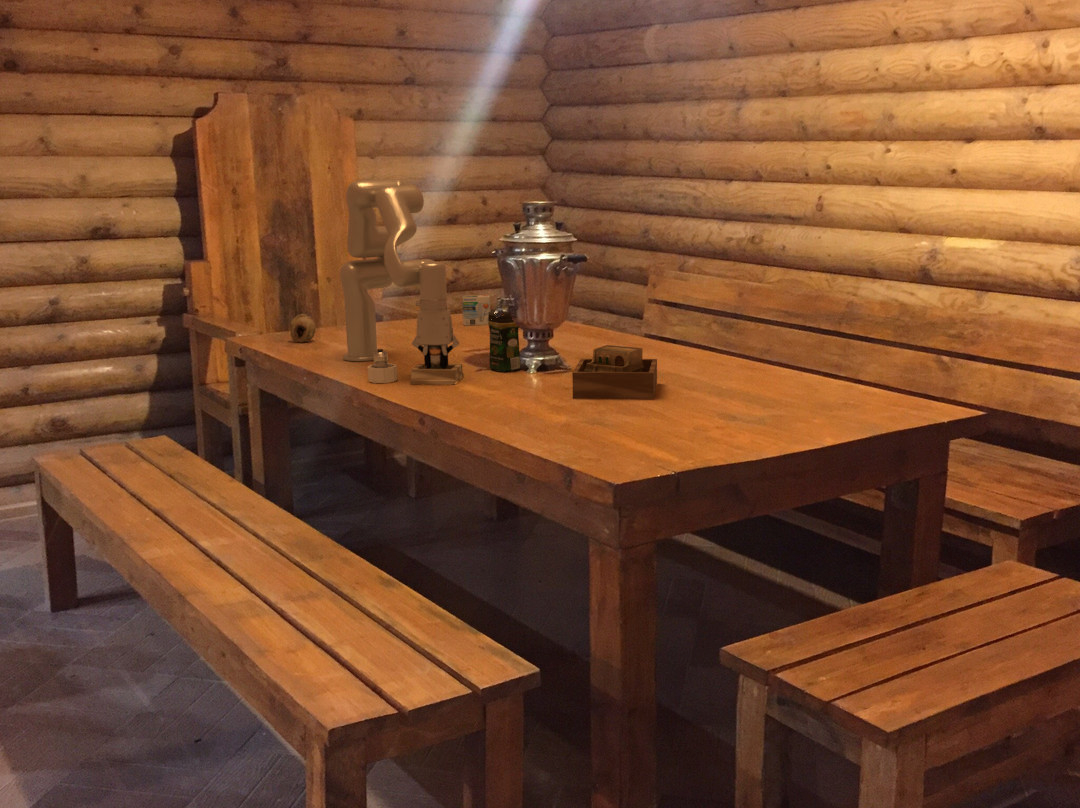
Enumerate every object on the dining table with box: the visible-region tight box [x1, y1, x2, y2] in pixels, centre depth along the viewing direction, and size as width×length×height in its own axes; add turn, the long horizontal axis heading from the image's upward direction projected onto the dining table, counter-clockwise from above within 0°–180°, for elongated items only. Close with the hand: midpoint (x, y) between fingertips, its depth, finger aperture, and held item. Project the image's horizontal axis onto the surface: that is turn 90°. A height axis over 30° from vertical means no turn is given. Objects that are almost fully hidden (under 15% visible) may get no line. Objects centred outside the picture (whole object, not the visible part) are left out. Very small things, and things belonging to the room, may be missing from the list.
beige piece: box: [367, 363, 398, 384], centre depth 336 cm, size 8×8×4 cm
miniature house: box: [584, 344, 645, 372], centre depth 316 cm, size 15×14×11 cm
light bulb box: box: [462, 294, 491, 326], centre depth 440 cm, size 11×7×11 cm, turn 95°
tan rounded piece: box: [289, 313, 317, 344], centre depth 407 cm, size 10×8×10 cm
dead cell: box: [373, 348, 389, 368], centre depth 336 cm, size 4×4×9 cm
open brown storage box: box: [572, 358, 658, 400], centre depth 315 cm, size 20×21×7 cm
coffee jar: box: [488, 308, 521, 373], centre depth 347 cm, size 10×8×19 cm
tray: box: [409, 363, 464, 386], centre depth 335 cm, size 12×13×4 cm
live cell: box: [429, 345, 443, 369], centre depth 334 cm, size 4×4×9 cm
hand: (436, 367), depth 335 cm, fingers closed on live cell, 4 cm apart
